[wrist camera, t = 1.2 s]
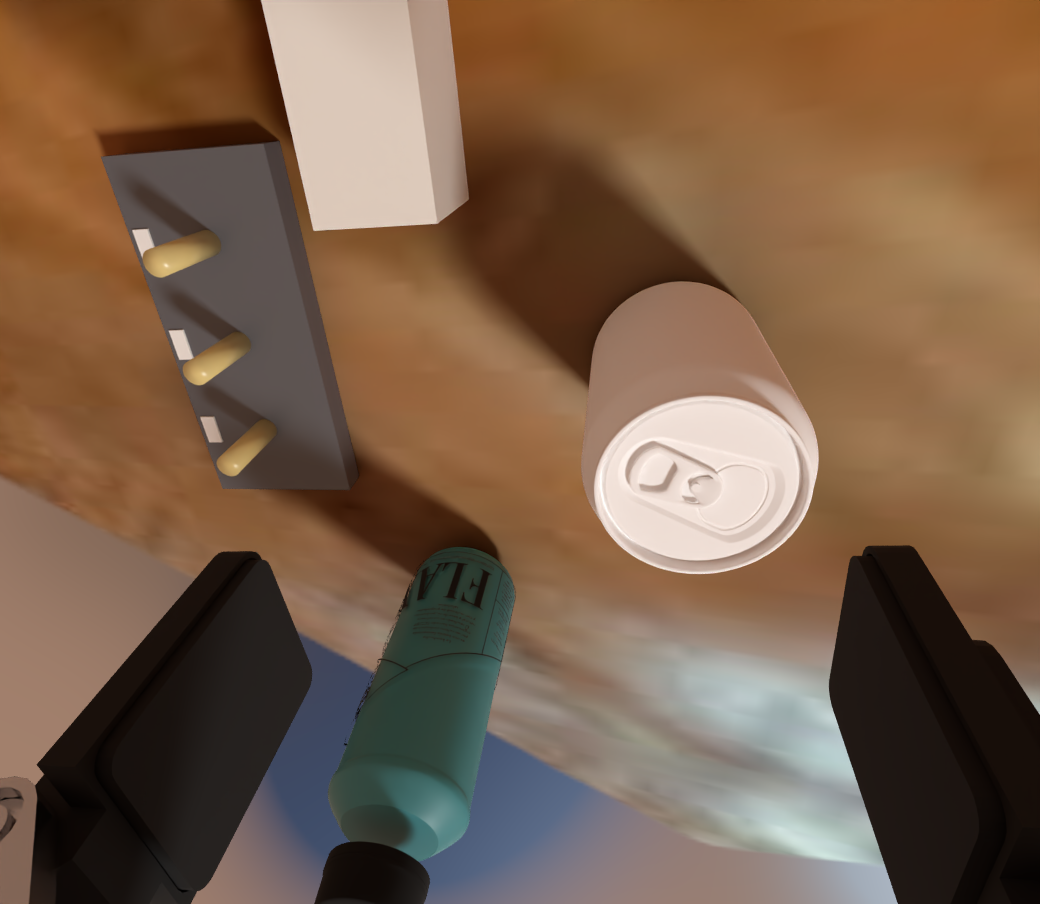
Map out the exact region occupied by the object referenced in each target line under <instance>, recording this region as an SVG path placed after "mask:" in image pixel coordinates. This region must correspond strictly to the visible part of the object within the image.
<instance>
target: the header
mask: <svg viewBox="0 0 1040 904" xmlns="http://www.w3.org/2000/svg"><path fill="white" fill-rule="evenodd" d="M101 158H102V161H103V164H104V166H105V169H106V172H107V175H108V177H109V180H110V183H111V186H112V188H113V191H114V194H115V196H116V199H117V202H118V205H119V207H120V210H121V213H122V215H123V218H124V221H125V224H126V226H127V229H128V232H129V235H130V237H131V240H132V243H133V245H134V248H135V251H136V254H137V256H138V259H139V262H140V264H141V267H142V270H143V273H144V275H145V278H146V281H147V284H148V286H149V289H150V292H151V294H152V297H153V300H154V303H155V305H156V308H157V311H158V314H159V316H160V319H161V322H162V324H163V327H164V330H165V333H166V335H167V338H168V341H169V343H170V346H171V349H172V352H173V354H174V357H175V360H176V363H177V365H178V368H179V371H180V373H181V376H182V379H183V382H184V384H185V387H186V390H187V392H188V395H189V398H190V401H191V403H192V406H193V409H194V412H195V414H196V417H197V420H198V422H199V425H200V428H201V431H202V433H203V436H204V439H205V441H206V444H207V447H208V450H209V452H210V455H211V458H212V461H213V463H214V466H215V469H216V471H217V474H218V477H219V480H220V482H221V485H222V488H223V489H303V490H350V489H351V488H352V486H353V485H354V483H355V482H356V480H357V479H358V477H359V473H358V469H357V465H356V461H355V457H354V452H353V448H352V444H351V440H350V436H349V431H348V427H347V423H346V419H345V415H344V410H343V406H342V402H341V398H340V394H339V389H338V385H337V381H336V377H335V373H334V368H333V364H332V360H331V356H330V352H329V347H328V343H327V339H326V335H325V331H324V326H323V322H322V318H321V314H320V310H319V305H318V301H317V297H316V293H315V289H314V284H313V280H312V276H311V272H310V268H309V263H308V259H307V255H306V251H305V247H304V242H303V238H302V234H301V230H300V226H299V221H298V217H297V213H296V209H295V205H294V200H293V196H292V192H291V188H290V184H289V179H288V175H287V171H286V167H285V163H284V158H283V154H282V150H281V146H280V142H279V141H273V142H261V143H249V144H237V145H224V146H212V147H200V148H188V149H175V150H163V151H151V152H139V153H126V154H118V155H111V156H103V157H101Z"/></svg>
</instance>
